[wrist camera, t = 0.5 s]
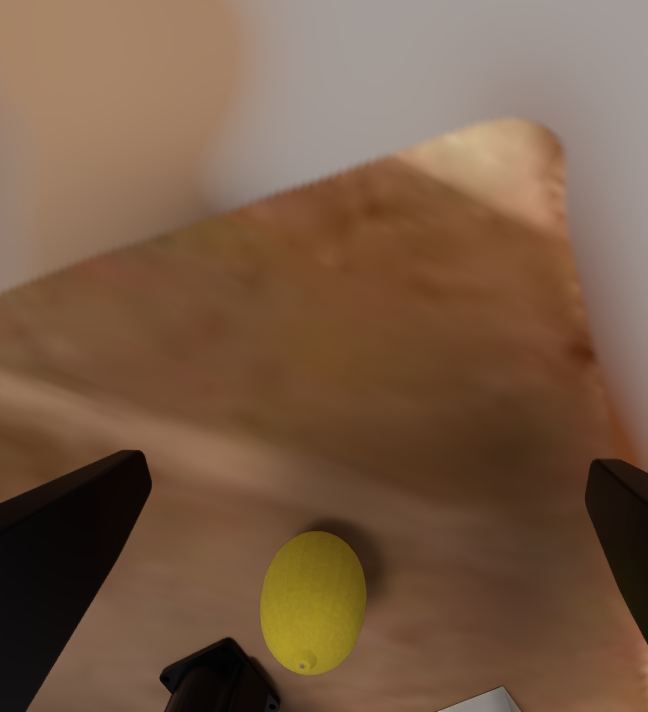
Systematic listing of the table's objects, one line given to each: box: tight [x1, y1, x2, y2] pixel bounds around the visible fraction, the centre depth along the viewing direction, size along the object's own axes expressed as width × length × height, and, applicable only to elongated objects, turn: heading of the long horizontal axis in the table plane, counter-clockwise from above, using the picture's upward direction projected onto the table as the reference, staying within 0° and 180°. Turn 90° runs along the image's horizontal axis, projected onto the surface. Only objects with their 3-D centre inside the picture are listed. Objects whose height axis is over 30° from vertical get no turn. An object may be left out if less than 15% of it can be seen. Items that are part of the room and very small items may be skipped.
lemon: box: [260, 531, 367, 675], centre depth 21 cm, size 6×6×8 cm
